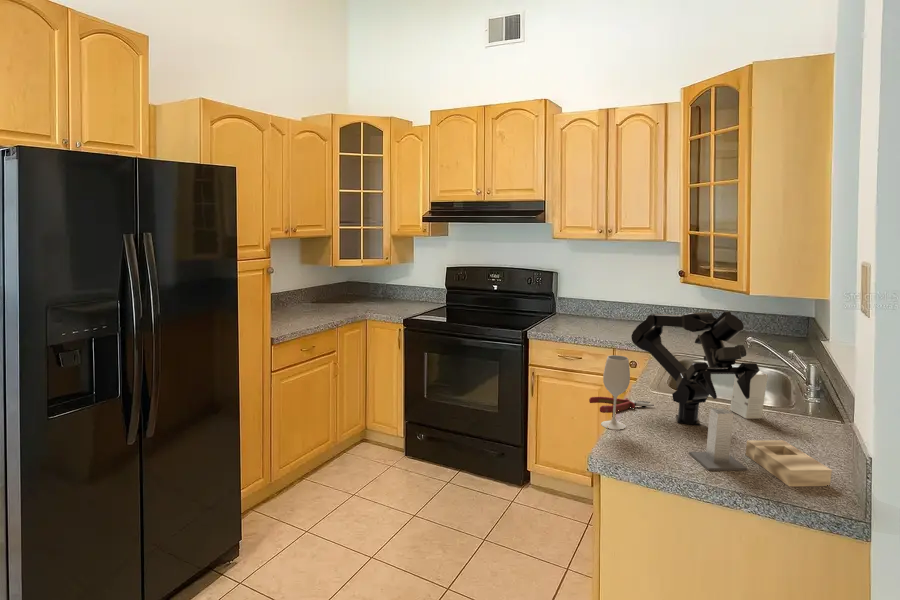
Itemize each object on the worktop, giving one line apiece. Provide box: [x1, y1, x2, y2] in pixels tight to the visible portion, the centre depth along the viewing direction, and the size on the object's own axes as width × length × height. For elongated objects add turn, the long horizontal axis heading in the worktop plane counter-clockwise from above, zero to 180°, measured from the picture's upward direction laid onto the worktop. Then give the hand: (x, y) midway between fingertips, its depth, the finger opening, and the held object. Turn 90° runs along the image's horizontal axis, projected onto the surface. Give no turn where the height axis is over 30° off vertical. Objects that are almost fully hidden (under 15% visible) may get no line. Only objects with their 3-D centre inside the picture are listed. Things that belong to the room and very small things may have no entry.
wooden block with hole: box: [745, 439, 833, 487], centre depth 143 cm, size 18×10×4 cm, turn 3°
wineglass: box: [600, 354, 631, 431], centre depth 170 cm, size 8×8×21 cm
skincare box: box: [729, 370, 769, 420], centre depth 183 cm, size 8×6×15 cm
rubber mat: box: [688, 451, 748, 471], centre depth 147 cm, size 10×10×1 cm
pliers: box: [588, 396, 655, 414], centre depth 189 cm, size 12×20×3 cm, turn 97°
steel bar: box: [705, 408, 734, 463], centre depth 146 cm, size 4×4×13 cm
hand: (731, 398), depth 156 cm, fingers open, 9 cm apart
